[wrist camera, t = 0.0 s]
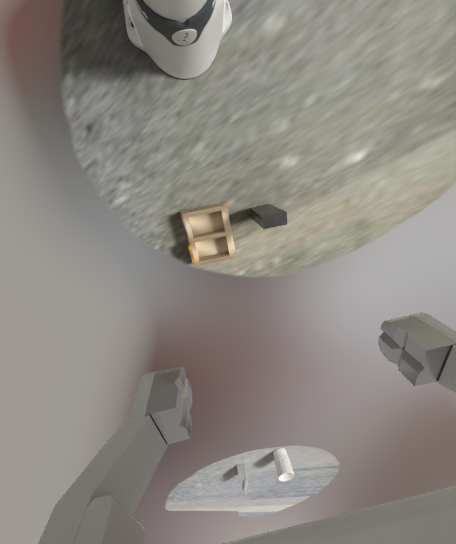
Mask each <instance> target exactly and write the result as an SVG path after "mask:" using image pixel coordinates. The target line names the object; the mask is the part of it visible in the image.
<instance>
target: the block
mask: <svg viewBox="0 0 456 544" xmlns="http://www.w3.org/2000/svg"><path fill="white" fill-rule="evenodd" d="M250 211H251V218H252V219H253V220H254V221H255V222H257V223H258V224H259V225H260V226H261V227H262V228H263V229H266V228H271V227H276V226H281V225H286V224H287V212H285V211H283V210H281V209H279V208H277V207H275V206H272V205H270V204H267V205H262V206H257V207H252V208H250Z"/></svg>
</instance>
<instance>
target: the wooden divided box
mask: <svg viewBox="0 0 456 544" xmlns="http://www.w3.org/2000/svg"><path fill="white" fill-rule="evenodd" d="M180 214H181V218H182V222H183V225H184V229H185V233H186V236H187V240H188V244H189V246H188V248H189V251H190V255H191V258H192V262H193V263H196V266H199V265H203V264H208V263H213V262H218V261H222V260H227V259H232V258H234V254H235V248H234V242H233V236H232V231H231V225H230V219H229V213H228V207H227V202H224V203H219V204H214V205H209V206H204V207H199V208H195V209H190V210H185V211H180Z"/></svg>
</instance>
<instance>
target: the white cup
mask: <svg viewBox="0 0 456 544" xmlns="http://www.w3.org/2000/svg"><path fill="white" fill-rule="evenodd" d="M273 456H274V461H275V466H276V471H277V476H278V480H280V481H288V480H290V479H292V478H293V477H294V472H293V469H292V466H291V463H290V460H289V458H288V455H287V452H286V450H285V449H284V448H279V449H276V450H275V451H274V452H273Z"/></svg>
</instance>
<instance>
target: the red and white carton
mask: <svg viewBox="0 0 456 544" xmlns="http://www.w3.org/2000/svg"><path fill="white" fill-rule="evenodd" d="M237 470H238V478H239V482H240V484H241V486H242V488H243V491H244V493H245V495H246V496H247V489H248V478H247V471H246V467H245V465H244V463H242V464H238V465H237Z"/></svg>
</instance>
